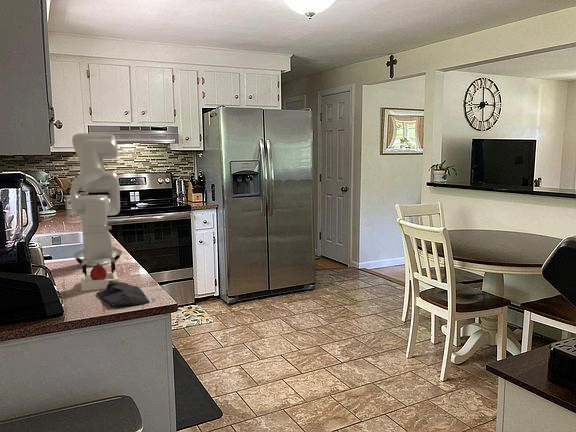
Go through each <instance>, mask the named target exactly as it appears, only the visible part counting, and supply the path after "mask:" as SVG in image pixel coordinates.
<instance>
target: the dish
mask: <svg viewBox="0 0 576 432" xmlns="http://www.w3.org/2000/svg"><path fill="white" fill-rule="evenodd" d="M106 272H107V275H106V278H105V279H104V280H95V281H93V280H92V279H91V277H90V273H87V275H86V276H85V273H82V274H80V286H81V287H80V288H81V292H88V291H97V290H98V291H100V290H107V285H108V284H109V281H116V282H120V278H119V276H118V273H117V271H116V270H114V273H112V272H111V271H106Z"/></svg>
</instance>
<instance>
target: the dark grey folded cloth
mask: <svg viewBox="0 0 576 432" xmlns="http://www.w3.org/2000/svg"><path fill="white" fill-rule="evenodd" d="M96 295H97V296H98V297H99V298H100V299H101V300H102V301H105V302H106V303H107V304H109V305H110V306H112V307H116V306H117V307H124V306H136V304H140V305H145V303H147V304H149V302H150V303H151V301H150V300H149V298H148V297H147V296H146V294H145V292H144V291H143V290H142V289H141V288H140V287H139V286H137V285H132V284H128V283H127V282H126V283H125V282H124V281H119V282H116V281H109V284H108V285H107V289H104V290H101V291H100V290H99V291H97V292H96Z"/></svg>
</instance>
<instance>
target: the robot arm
mask: <svg viewBox="0 0 576 432" xmlns="http://www.w3.org/2000/svg"><path fill="white" fill-rule="evenodd" d="M71 140H72V147H73V150H74V151H75V154H76V156H77V158H78V160H79V168H80V169H79V170H80V173H79V175H77V177H75V179H74V180H73V182H72V184H71V186H70V195H69V196H70V209H71V211H72V213H73V214H74V215H76V216H77V215H78V216H80V218H81V228H82V246H83V248H81V249H80V250H78V251H76V252H74V253H73V254H72V256H73V257H74V259H75V260H76V262H77V263H79V264H80V265H81V266H82V267H81V268H82V274H85V276H86V275H87V274H88V271H87V267H95V266H96V265H97V264H98V263H99V264H100V266H104V265H108V264H110V269H111V270H110V272H112V273H114V272H115V271H116V262H117V261H118V260H119V259H120V258H121V255H122V253H123V250H122V249H120V248H118V247H115V246H113V244H112V243H113V242H112V236H111V233H110V231H109V230H112V225H109V224H108V216H116V215H119V213H120V211H121V197H120V196H121V195H120V193H121V191H120V180H119V179H120V178H119V176H118V174H117V173H116V172H115V171H111V170H107V171H105V170H104V160H116V159H117V157H118V153H119V151H118V150H119V148H118V144H117V141H116V140H117V139H116V138H115V136H114V134H112V133H93V132H92V133H89V132H83V133H82V132H80V133H75V134H73V136H72V138H71ZM80 189H82V190H83V191H84V192H85V193H108V194H87V195H79V190H80ZM113 252H115V253H116V255H115V256H113ZM82 254H83V259H81V258H80V255H82Z"/></svg>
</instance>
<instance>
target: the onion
mask: <svg viewBox="0 0 576 432" xmlns="http://www.w3.org/2000/svg"><path fill="white" fill-rule="evenodd" d="M107 272H108V271H107V269H106V268H105V267H103V265H100V264H99V263H98V264H97V265H96V266H92V268H91V271H90V273H89V274H90V277H91V279H92V280H93V281H95V280H104V279H105V278H106V275H107Z"/></svg>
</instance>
